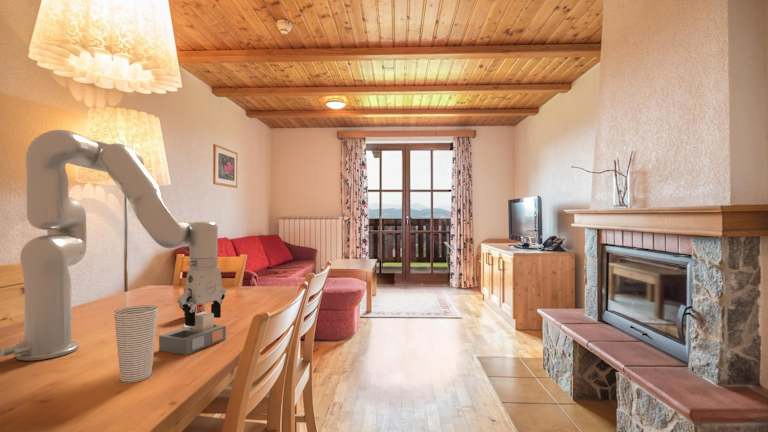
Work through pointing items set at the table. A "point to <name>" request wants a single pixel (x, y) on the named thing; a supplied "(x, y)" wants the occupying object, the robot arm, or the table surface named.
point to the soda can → (197, 307)
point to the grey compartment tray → (191, 339)
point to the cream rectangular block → (204, 321)
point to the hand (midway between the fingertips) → (203, 321)
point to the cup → (135, 341)
